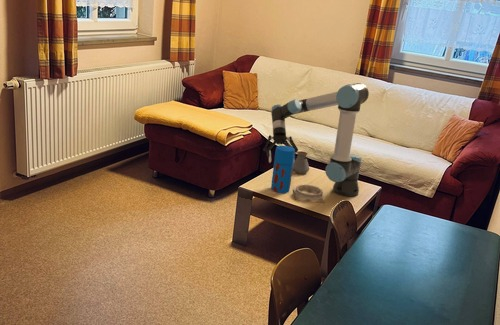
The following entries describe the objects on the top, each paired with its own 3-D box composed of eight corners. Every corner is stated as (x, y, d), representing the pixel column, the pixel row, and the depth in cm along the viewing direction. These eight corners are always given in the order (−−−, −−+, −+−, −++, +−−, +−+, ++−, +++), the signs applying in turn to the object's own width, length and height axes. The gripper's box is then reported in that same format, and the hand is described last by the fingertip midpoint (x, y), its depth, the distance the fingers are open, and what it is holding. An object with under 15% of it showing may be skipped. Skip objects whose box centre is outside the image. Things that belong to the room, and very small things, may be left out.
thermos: (280, 185, 288) (285, 144, 280) (293, 191, 280) (299, 150, 272) (267, 188, 281) (272, 146, 273) (279, 194, 273) (285, 152, 265)
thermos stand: (321, 192, 283) (322, 186, 282) (324, 203, 268) (325, 196, 267) (293, 189, 283) (294, 183, 282) (295, 199, 268) (296, 193, 267)
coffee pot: (289, 168, 319) (292, 146, 314) (307, 169, 320) (310, 147, 315) (294, 179, 298) (297, 156, 294) (313, 181, 300) (316, 158, 295)
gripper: (297, 133, 292) (301, 165, 282) (257, 131, 287) (259, 164, 278) (301, 127, 285) (304, 160, 276) (259, 125, 280) (261, 158, 271)
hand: (281, 162), depth 277 cm, fingers open, 13 cm apart
